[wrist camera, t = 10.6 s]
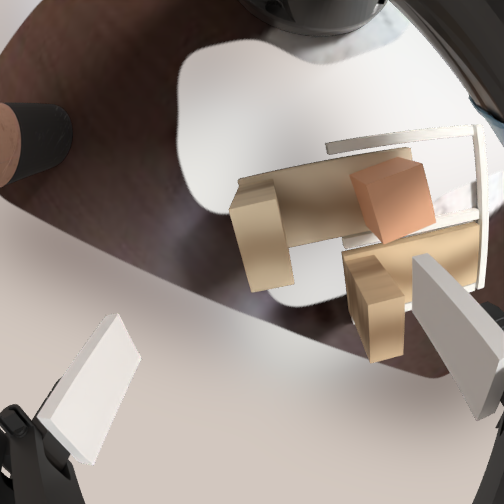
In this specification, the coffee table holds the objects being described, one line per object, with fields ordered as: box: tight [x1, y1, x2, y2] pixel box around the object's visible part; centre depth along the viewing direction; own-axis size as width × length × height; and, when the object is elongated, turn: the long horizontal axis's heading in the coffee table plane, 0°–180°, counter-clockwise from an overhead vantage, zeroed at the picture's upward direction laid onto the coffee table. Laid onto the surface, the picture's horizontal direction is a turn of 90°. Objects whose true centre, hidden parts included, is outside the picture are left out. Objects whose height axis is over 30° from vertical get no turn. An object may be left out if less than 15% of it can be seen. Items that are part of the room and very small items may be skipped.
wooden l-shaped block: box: [342, 222, 480, 363], centre depth 26 cm, size 7×16×9 cm, turn 104°
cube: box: [349, 157, 436, 244], centre depth 24 cm, size 5×5×5 cm
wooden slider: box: [229, 147, 412, 292], centre depth 24 cm, size 7×16×9 cm, turn 104°
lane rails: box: [325, 125, 489, 324], centre depth 29 cm, size 19×18×1 cm
